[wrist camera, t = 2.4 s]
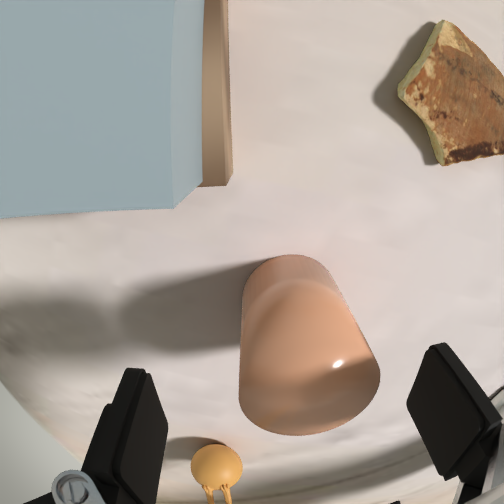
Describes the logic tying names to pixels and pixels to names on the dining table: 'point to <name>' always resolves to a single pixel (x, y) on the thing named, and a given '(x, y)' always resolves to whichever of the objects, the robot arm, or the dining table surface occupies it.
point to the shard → (456, 97)
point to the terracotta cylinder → (301, 350)
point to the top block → (99, 105)
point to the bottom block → (216, 96)
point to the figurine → (216, 470)
